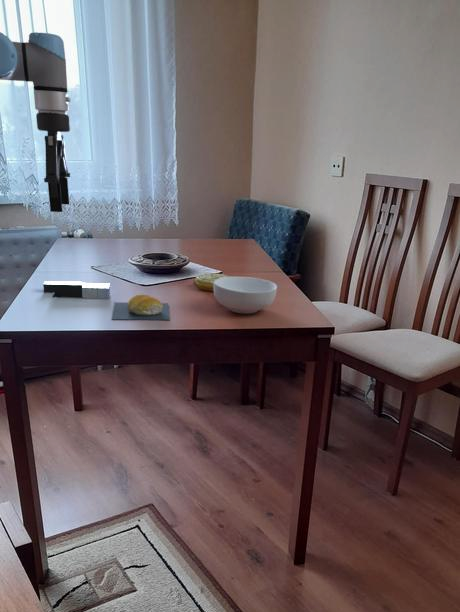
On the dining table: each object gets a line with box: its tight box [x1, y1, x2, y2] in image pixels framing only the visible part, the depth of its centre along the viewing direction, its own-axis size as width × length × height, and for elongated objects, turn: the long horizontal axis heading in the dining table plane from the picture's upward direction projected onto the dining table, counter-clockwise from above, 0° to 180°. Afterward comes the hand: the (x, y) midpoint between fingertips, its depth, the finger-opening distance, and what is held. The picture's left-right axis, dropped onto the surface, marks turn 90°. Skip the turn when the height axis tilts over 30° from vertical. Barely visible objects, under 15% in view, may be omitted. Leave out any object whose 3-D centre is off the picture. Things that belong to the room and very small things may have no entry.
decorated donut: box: [194, 272, 229, 292], centre depth 165 cm, size 10×11×4 cm
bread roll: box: [127, 294, 163, 316], centre depth 140 cm, size 8×9×4 cm
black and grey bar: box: [42, 280, 111, 300], centre depth 150 cm, size 17×4×4 cm, turn 98°
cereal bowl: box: [213, 276, 278, 315], centre depth 146 cm, size 17×17×7 cm
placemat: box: [111, 301, 171, 321], centre depth 141 cm, size 14×14×1 cm
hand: (60, 207), depth 140 cm, fingers open, 13 cm apart
